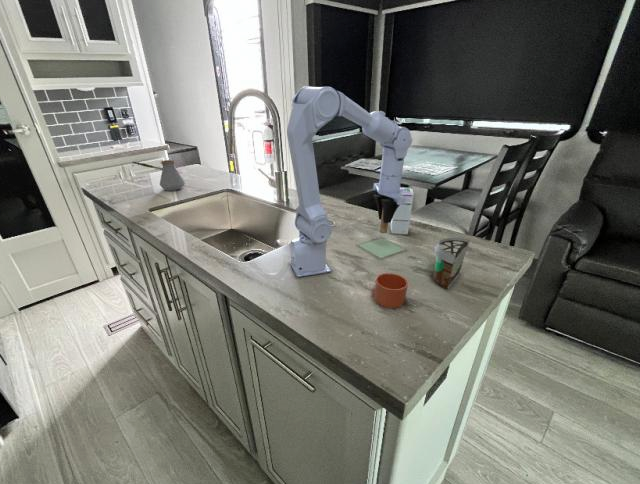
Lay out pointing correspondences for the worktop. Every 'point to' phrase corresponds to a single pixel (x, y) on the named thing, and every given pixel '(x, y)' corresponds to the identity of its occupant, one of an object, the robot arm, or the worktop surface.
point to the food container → (449, 260)
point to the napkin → (381, 248)
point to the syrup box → (403, 213)
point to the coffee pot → (168, 175)
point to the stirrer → (383, 225)
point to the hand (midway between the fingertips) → (384, 220)
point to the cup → (390, 290)
